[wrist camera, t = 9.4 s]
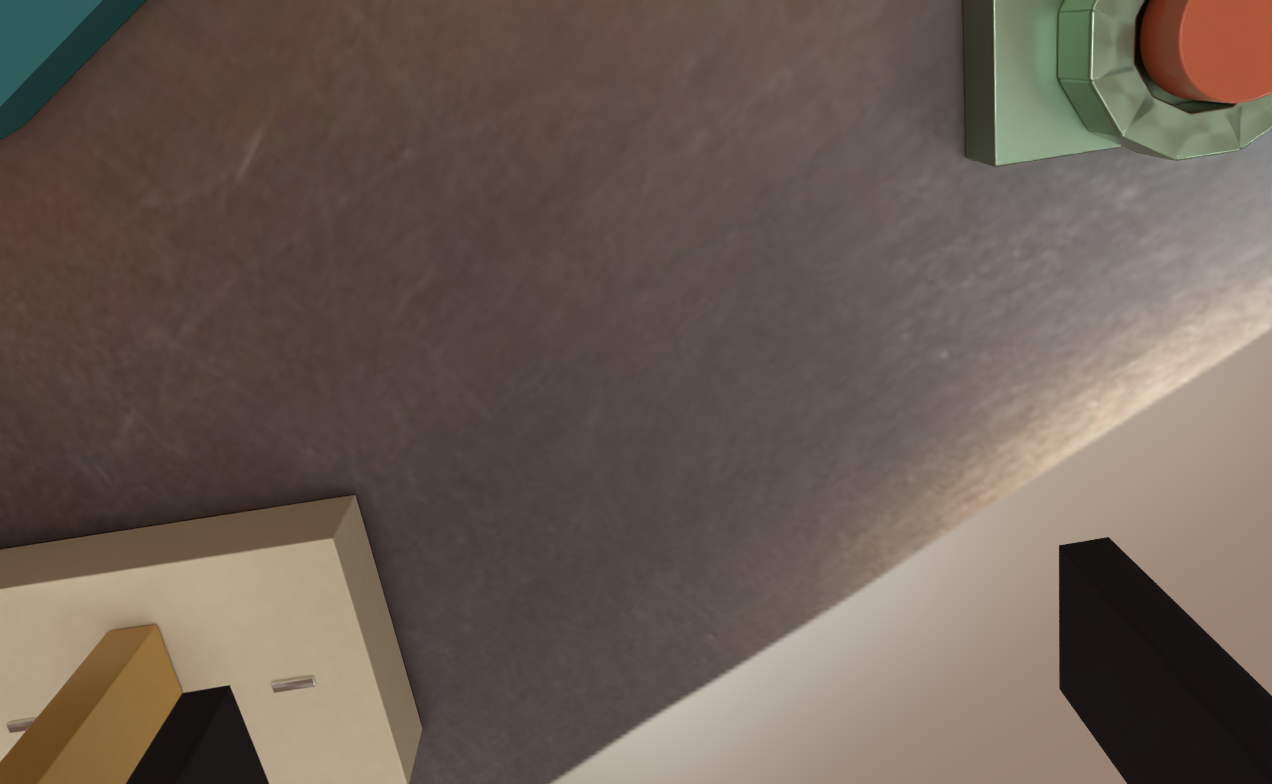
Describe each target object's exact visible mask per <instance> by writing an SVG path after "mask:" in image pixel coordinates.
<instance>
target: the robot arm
mask: <svg viewBox="0 0 1272 784" xmlns="http://www.w3.org/2000/svg"><path fill="white" fill-rule="evenodd" d="M1059 643H1060V644H1059V649H1060V650H1059V652H1060V655H1059V656H1060V657H1059V658H1060V659H1059V660H1060V661H1059V662H1060V664H1059V666H1060V667H1059V669H1060V670H1059V671H1060V673H1059V674H1060V690H1061V691H1062V693H1063V694H1064V696H1065V697H1066V699H1067V700H1068V701H1069V703H1070V704H1071V706H1072V707H1073V708H1074V710H1075V711H1076V712H1077V714H1078V715H1079V717H1080V718H1081V720H1082V721H1083V722H1084V723H1085V725H1086V726H1087V728H1088V729H1089V731H1090V732H1091V733H1092V735H1093V736H1094V737H1095V739H1096V741H1097V742H1098V743H1099V745H1100V746H1101V748H1102V749H1103V750H1104V752H1105V753H1106V755H1107V756H1108V757H1109V759H1110V760H1111V762H1112V763H1113V764H1114V766H1115V767H1116V769H1117V770H1118V771H1119V773H1120V774H1121V775H1122V777H1123V778H1124V780H1125V781H1126V782H1127V784H1272V696H1271V695H1270V694H1269V693H1268V692H1267V691H1266V690H1265V689H1264V688H1263V687H1262V686H1261V685H1260V684H1259V683H1258V682H1257V681H1256V680H1255V679H1254V678H1253V677H1252V676H1250V674H1249V673H1248V672H1247V671H1245V670H1244V669H1243V668H1242V667H1241V666H1240V665H1239V664H1238V663H1237V662H1236V661H1235V660H1234V659H1233V658H1232V657H1231V656H1230V655H1229V654H1228V653H1227V652H1226V651H1225V650H1224V649H1223V648H1222V647H1221V646H1220V645H1219V644H1218V643H1217V642H1216V641H1215V640H1213V638H1211V636H1209V634H1207V633H1206V632H1205V631H1204V630H1203V629H1202V628H1201V627H1200V626H1199V625H1198V624H1197V623H1196V622H1195V621H1194V620H1193V619H1192V618H1191V617H1190V616H1189V615H1188V614H1187V613H1186V612H1185V611H1184V610H1183V609H1182V608H1181V607H1180V606H1179V605H1178V604H1177V603H1175V601H1173V599H1171V598H1170V597H1169V596H1168V595H1167V594H1166V593H1165V592H1164V591H1163V590H1162V589H1161V588H1160V587H1159V586H1158V585H1157V584H1156V583H1155V582H1154V581H1153V580H1152V579H1151V578H1150V577H1149V576H1148V575H1147V574H1146V573H1145V572H1144V571H1143V570H1141V568H1140V567H1139V566H1137V564H1135V563H1134V562H1133V561H1132V560H1131V559H1130V558H1129V557H1128V556H1127V555H1126V554H1125V553H1124V552H1123V551H1122V550H1121V549H1120V548H1119V547H1118V546H1117V545H1116V544H1115V543H1114V542H1113V541H1112V540H1111V539H1110V538H1109V537H1107V538H1101V539H1095V540H1089V541H1084V542H1077V543H1071V544H1066V545H1059ZM126 784H269V782H268V779H267V777H266V774H265V772H264V769H263V767H262V764H261V762H260V759H259V757H258V754H257V752H256V749H255V747H254V744H253V742H252V739H251V737H250V734H249V732H248V729H247V727H246V724H245V722H244V719H243V717H242V714H241V712H240V709H239V707H238V704H237V702H236V699H235V697H234V694H233V692H232V689H231V687H230V685H227V686H221V687H215V688H209V689H203V690H197V691H191V692H185V693H182V694H181V696H180V697H179V699H178V701H177V702H176V704H175V705H174V707H173V709H172V710H171V712H170V713H169V715H168V717H167V718H166V720H165V721H164V723H163V725H162V726H161V728H160V729H159V731H158V733H157V734H156V736H155V737H154V739H153V741H152V742H151V744H150V745H149V747H148V749H147V750H146V752H145V753H144V755H143V757H142V758H141V760H140V762H139V763H138V765H137V766H136V768H135V770H134V771H133V773H132V774H131V776H130V778H129V779H128V781H127V782H126Z"/></svg>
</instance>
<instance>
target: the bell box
mask: <svg viewBox="0 0 1272 784" xmlns="http://www.w3.org/2000/svg"><path fill="white" fill-rule="evenodd" d="M1149 2H1150V0H963V30H964V77H965V124H966V157H967V158H969V159H972V160H975V161H978V162H982V163H985V164H988V165H991V166H995V167H998V166H1004V165H1010V164H1017V163H1023V162H1029V161H1036V160H1042V159H1049V158H1055V157H1061V156H1068V155H1074V154H1080V153H1087V152H1093V151H1100V150H1106V149H1112V148H1119V147H1126V148H1128V149H1130V150H1132V151H1135V152H1137V153H1140V154H1145V155H1150V156H1155V157H1160V158H1165V159H1170V160H1183V159H1190V158H1196V157H1203V156H1209V155H1215V154H1222V153H1228V152H1234V151H1239V150H1240V149H1243V148H1244V147H1246V146H1247V145H1248V144H1250V143H1251V142H1253V141H1254V140H1255V139H1257V138H1258V137H1260V136H1261V135H1262V134H1264V133H1265V132H1267V131H1268V130H1269V129H1271V128H1272V93H1271V94H1269V95H1267V96H1265V97H1262V98H1260V99H1257V100H1254V101H1250V102H1245V103H1221V102H1210V101H1200V100H1189V99H1183V98H1179V97H1176V96H1173V95H1171V94H1169V93H1167V92H1166V91H1164V90H1163V89H1161V88H1160V87H1159V86H1158V85H1157V84H1156V83H1155V82H1154V81H1153V80H1152V78H1151V77H1150V75H1149V74H1148V72H1147V70H1146V68H1145V65H1144V63H1143V59H1142V56H1141V50H1140V31H1141V25H1142V20H1143V17H1144V14H1145V11H1146V8H1147V6H1148V4H1149Z"/></svg>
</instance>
